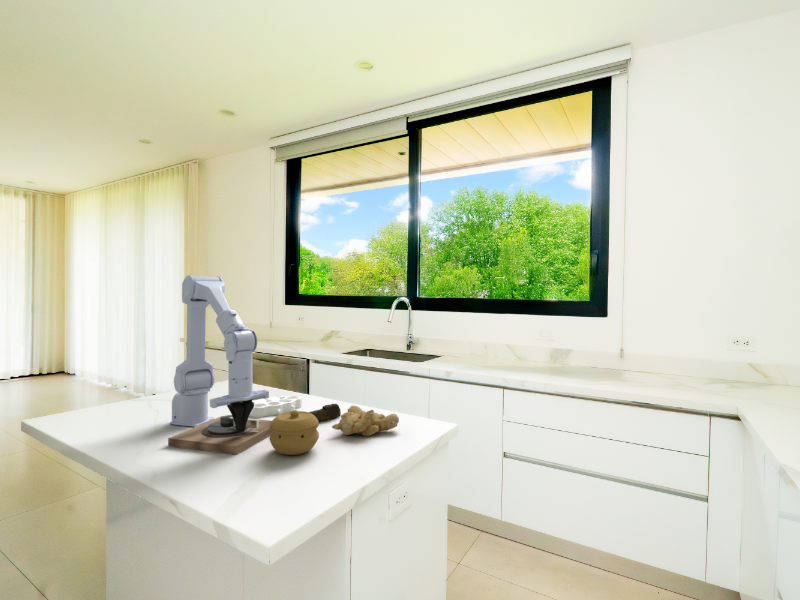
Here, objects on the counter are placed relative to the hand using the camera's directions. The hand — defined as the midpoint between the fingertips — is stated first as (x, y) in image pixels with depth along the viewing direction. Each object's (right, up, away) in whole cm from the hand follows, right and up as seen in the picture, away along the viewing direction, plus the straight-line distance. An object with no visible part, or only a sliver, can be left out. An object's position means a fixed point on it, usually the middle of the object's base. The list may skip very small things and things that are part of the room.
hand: (240, 430), depth 107 cm
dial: (-3, -1, +5) cm, 6 cm away
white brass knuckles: (-1, -4, +32) cm, 32 cm away
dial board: (-5, -3, +5) cm, 8 cm away
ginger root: (+30, -4, +10) cm, 32 cm away
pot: (+15, -4, -4) cm, 16 cm away
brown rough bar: (+15, -4, +19) cm, 24 cm away
